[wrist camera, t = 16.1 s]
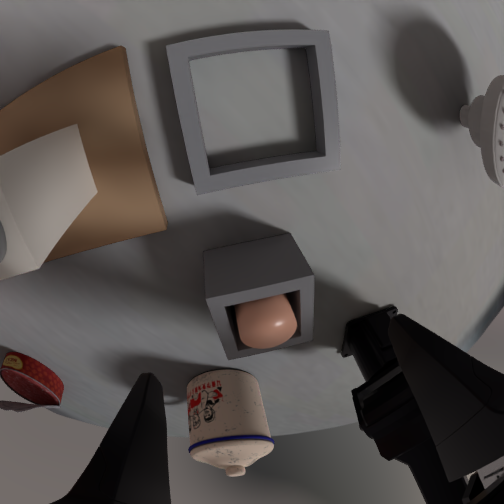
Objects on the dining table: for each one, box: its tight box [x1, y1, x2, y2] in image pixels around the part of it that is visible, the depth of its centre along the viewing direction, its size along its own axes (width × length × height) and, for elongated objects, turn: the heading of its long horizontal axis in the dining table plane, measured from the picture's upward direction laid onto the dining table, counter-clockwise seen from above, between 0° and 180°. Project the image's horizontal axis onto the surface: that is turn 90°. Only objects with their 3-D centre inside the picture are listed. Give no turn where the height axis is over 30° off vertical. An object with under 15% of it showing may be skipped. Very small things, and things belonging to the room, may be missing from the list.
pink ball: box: [234, 293, 297, 349], centre depth 19 cm, size 4×4×4 cm
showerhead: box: [460, 75, 504, 188], centre depth 13 cm, size 9×7×10 cm
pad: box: [0, 46, 168, 263], centre depth 14 cm, size 12×12×1 cm
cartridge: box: [0, 124, 97, 281], centre depth 10 cm, size 5×5×9 cm
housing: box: [203, 233, 314, 360], centre depth 19 cm, size 6×6×5 cm
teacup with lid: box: [187, 369, 274, 476], centre depth 26 cm, size 12×9×12 cm
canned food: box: [0, 352, 64, 412], centre depth 23 cm, size 11×10×10 cm
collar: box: [166, 29, 341, 195], centre depth 14 cm, size 9×9×2 cm
